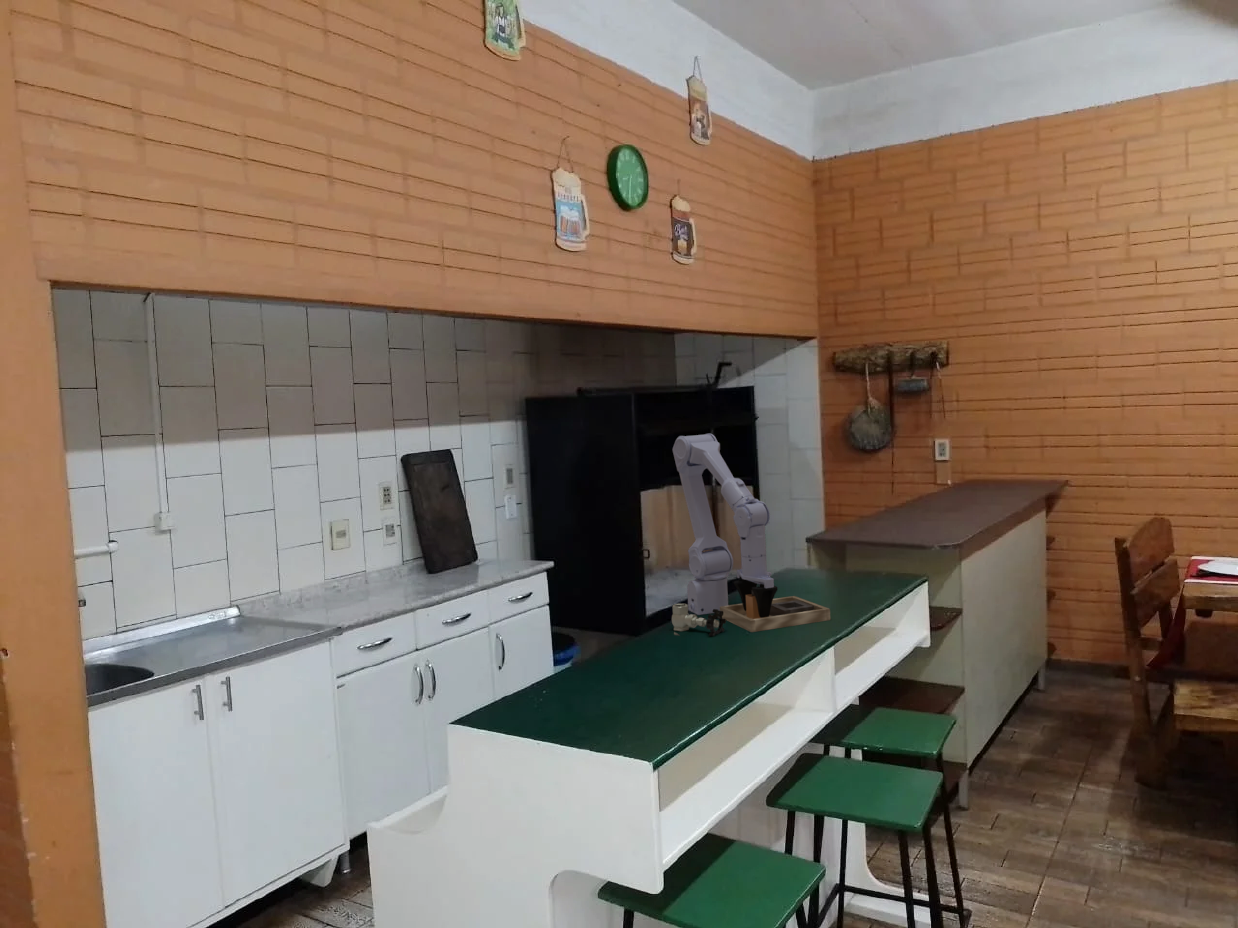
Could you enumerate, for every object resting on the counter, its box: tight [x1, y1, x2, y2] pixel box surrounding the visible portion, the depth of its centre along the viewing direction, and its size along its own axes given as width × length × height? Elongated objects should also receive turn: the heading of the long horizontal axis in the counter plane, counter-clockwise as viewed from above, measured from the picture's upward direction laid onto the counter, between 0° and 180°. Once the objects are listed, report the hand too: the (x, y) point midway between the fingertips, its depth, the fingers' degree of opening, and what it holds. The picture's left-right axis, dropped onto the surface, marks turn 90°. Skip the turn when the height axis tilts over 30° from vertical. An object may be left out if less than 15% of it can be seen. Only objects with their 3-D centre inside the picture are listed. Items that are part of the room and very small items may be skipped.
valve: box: [671, 603, 727, 637], centre depth 208 cm, size 7×7×12 cm
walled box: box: [720, 595, 831, 633], centre depth 215 cm, size 20×16×4 cm
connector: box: [746, 590, 765, 619], centre depth 214 cm, size 3×3×7 cm
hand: (756, 613), depth 214 cm, fingers open, 7 cm apart
